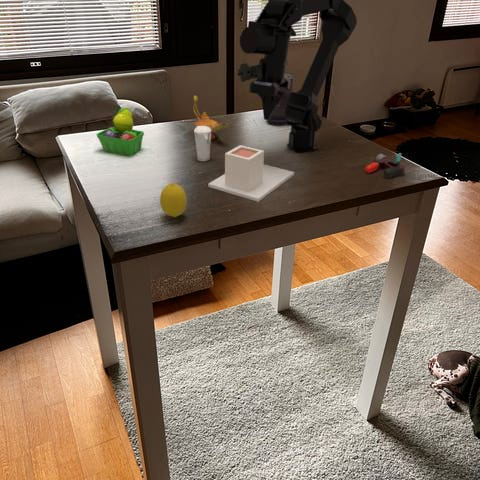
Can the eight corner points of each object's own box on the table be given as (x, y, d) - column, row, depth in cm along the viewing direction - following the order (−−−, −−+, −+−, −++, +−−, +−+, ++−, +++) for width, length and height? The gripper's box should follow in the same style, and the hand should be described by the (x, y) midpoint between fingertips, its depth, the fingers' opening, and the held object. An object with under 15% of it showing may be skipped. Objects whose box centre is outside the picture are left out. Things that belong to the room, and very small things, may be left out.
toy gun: (382, 160, 132) (385, 143, 130) (408, 177, 123) (412, 159, 120) (351, 164, 130) (354, 147, 127) (376, 182, 120) (379, 164, 117)
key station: (247, 162, 128) (248, 131, 123) (294, 175, 122) (296, 142, 117) (208, 186, 115) (207, 152, 110) (258, 201, 109) (259, 166, 104)
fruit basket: (97, 152, 133) (91, 112, 127) (115, 141, 140) (110, 103, 134) (132, 158, 130) (127, 117, 124) (149, 147, 137) (145, 108, 131)
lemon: (162, 211, 104) (159, 178, 100) (187, 210, 105) (186, 177, 100) (160, 224, 100) (158, 189, 95) (187, 223, 100) (185, 188, 96)
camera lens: (263, 125, 155) (265, 78, 147) (266, 118, 161) (268, 72, 153) (288, 127, 153) (292, 79, 146) (290, 119, 160) (293, 73, 152)
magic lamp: (216, 149, 136) (216, 111, 130) (184, 132, 148) (183, 96, 142) (236, 145, 139) (236, 107, 134) (203, 128, 152) (202, 93, 146)
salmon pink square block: (241, 161, 115) (241, 149, 114) (257, 165, 113) (257, 153, 112) (231, 166, 112) (231, 154, 111) (247, 171, 110) (247, 159, 109)
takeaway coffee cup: (212, 163, 127) (211, 127, 122) (193, 161, 128) (191, 125, 123) (216, 157, 131) (216, 121, 126) (197, 155, 132) (196, 120, 127)
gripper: (254, 48, 125) (246, 109, 132) (232, 51, 109) (224, 120, 115) (295, 55, 123) (285, 116, 129) (279, 58, 106) (269, 128, 113)
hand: (266, 119), depth 122 cm, fingers closed
